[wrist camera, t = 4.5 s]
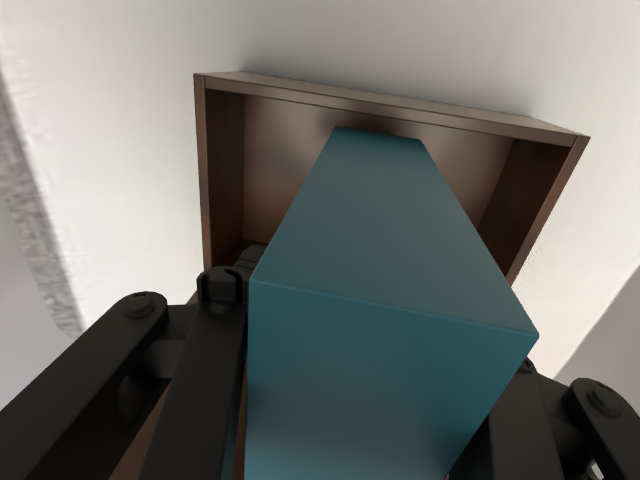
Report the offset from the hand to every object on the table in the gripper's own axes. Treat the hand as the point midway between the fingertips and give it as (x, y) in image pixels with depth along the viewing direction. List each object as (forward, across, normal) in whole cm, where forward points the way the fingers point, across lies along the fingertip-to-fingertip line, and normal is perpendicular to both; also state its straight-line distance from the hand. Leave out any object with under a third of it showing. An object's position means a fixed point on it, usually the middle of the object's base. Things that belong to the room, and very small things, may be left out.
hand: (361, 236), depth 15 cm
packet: (+5, 0, 0) cm, 5 cm away
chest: (+10, 0, -1) cm, 10 cm away
